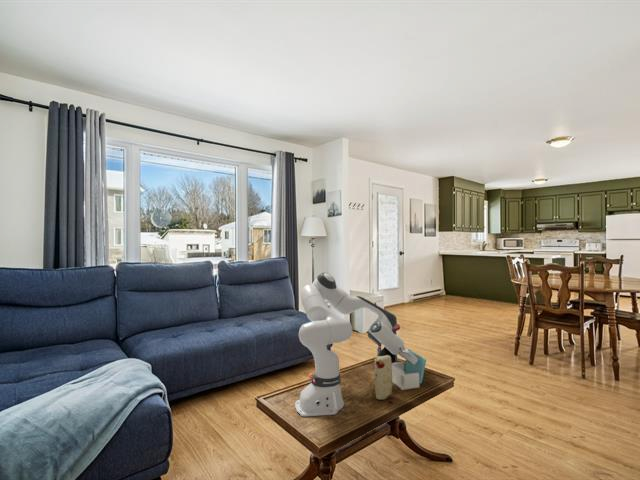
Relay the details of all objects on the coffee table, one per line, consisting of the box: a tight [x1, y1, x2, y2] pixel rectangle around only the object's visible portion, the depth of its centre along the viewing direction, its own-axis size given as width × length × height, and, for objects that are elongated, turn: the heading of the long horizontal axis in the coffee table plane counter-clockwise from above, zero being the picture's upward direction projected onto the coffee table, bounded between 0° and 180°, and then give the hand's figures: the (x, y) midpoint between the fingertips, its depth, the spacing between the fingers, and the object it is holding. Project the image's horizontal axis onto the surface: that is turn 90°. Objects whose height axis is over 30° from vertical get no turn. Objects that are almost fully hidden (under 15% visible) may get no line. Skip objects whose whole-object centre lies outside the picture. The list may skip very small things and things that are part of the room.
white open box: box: [392, 361, 420, 391], centre depth 174 cm, size 10×17×9 cm, turn 15°
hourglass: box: [373, 323, 401, 370], centre depth 194 cm, size 16×16×25 cm
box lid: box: [404, 348, 427, 384], centre depth 176 cm, size 2×17×12 cm, turn 15°
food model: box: [373, 355, 393, 400], centre depth 157 cm, size 10×7×20 cm
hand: (413, 361), depth 176 cm, fingers closed, pressing on box lid
